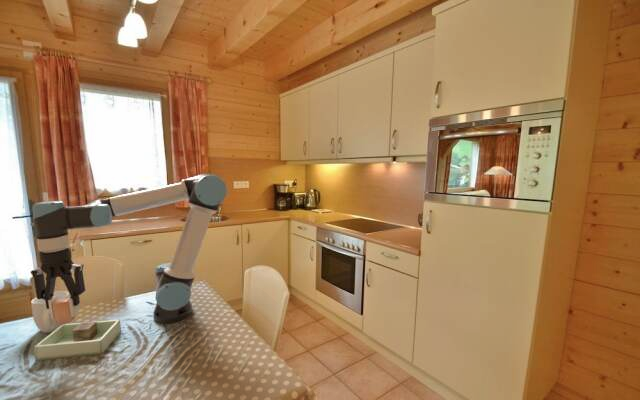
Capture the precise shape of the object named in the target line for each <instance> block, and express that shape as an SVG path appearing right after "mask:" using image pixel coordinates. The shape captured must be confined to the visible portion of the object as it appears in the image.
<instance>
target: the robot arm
mask: <svg viewBox="0 0 640 400" xmlns="http://www.w3.org/2000/svg"><path fill="white" fill-rule="evenodd" d="M227 194H228V187H227V184H226V183H225V181H224V180H223V179H222V177H220V176H218V175H216V174H212V173H202V174H198V175H195V176H193V177H189V178H185V179H182V180H181V181H180V182H177V183H173V184H172V183H171V184H169V185H164V186H163V185H162V186H159V187H154V188H149V189H146V190H145V189H144V190H141V191H135V192H131V193H126V194H125V193H124V194H121V195H115V196H112V197H108V198H107V197H105V198H102V199H94V200H91V201H88V203H87V204H84V205H75V206H74V205H73V206H66V205H65V203H64V201H62V200H52V201H51V200H50V201H49V200H48V201H42V202H36V203H34V204H33V205H32V207H31V208H32V220H33V225H34V231H35V234H36V243H37V244H36V245H37V251H38V252H39V253H38V257H39V261H40V263H41V265H40V267H36V268H35V269H33V270H30V274H31V276H32V277H33V281H34V289H35V295H36V297H37V299H44V300H45V302H46V308H47V309H49V310H50V316H51V319H54V318H55V317H54V311H53V305H52V303H53V302H55V301H57V297H53V296H54V295H55V294H54V292H55V289H56V288H55V287H56V281H57V278H61V279H60V280H62V282H63V283H64V285H65V287H66V289H67V292H68V293H69V298H68V299H69V306H70V312H71V317H73V316H75V317H76V315H77V314H79V306H78V305H80V304H81V303H80V302H81V301H80V296H81V295H83V293H85V292H86V286H85V280H84V278H85V277H84V274H83V273H84V272H83V269H84V264H83V263H81V264H77V263H74V261H73V259H72V250H71V247H70V246H71V244H70V237H69V230H76V229H85V228H86V229H88V228H100V227H105V226H110V225H111V224H112V222H113V218H114V217H119V216H124V215H127V214H132V213H135V212H139V211H144V210H148V209H152V208H156V207H157V208H158V207H160V206H161V207H162V206H165V205H169V204H173V203H178V202H182V201H186V202H187V203H188V205H189V208H190V209H189V211H188V214H187V217H186V219H185V223H184V224H183V229H182V231H181V233H180V236H179V239H178V242H177V245H176V247H175V250H174V253H173V255H172V259H171V261H170V262H168V263H167V262H166V263H165V262H164V263H161V264H159V265H157V266H156V267H155V272H154V274H155V301H156V303H155V307H154V310H153V315H152V316H153V321H154V322H155V323H158V324H172V323H177V322H180V321H183V320H184V319H187V318H188V317H189V316H190V315H191V314H192V312H193V305H192V303H191V300H190V299H191V296H192V289H191V288H192V286H193V283H194V280H195V277H196V274H195V271H194V268H195V265H196V263H197V259H198V257H199V254H200V251H201V248H202V245H203V243H204V241H205V237H206V234H207V231H208V228H209V225H210V222H211V220H212V217H213V215H214V214H215V213H217V212H219V209H220V208H221V207H220V206H221V204H222V202H224V200H225V198H226V197H227ZM71 270H72V271H71ZM72 272H73V273H72ZM44 275H46V276H44ZM73 276H74V278H73ZM45 281H46V282H45ZM52 297H53V298H52Z"/></svg>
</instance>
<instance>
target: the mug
mask: <svg viewBox="0 0 640 400" xmlns="http://www.w3.org/2000/svg"><path fill="white" fill-rule="evenodd" d="M54 294H55V295H54V296H53V297H57V300H59V299H63V298H70V293H69V291H66V290H65V291H64V290H59V291H54ZM53 297H52V298H53ZM30 306H31V313H32V318H33V321H34V324H35V325H36V327H37V328H38V330H40V331H41V332H42V333H52V332H53V331H55V330H56V329H57V328H58V327H60V326H61V325H56V324H55V318H54V319H51V316H50V310H49V309H47V308H46V302H45V300H44V299H37V296H36V297H35V298H33V299H32V300H30Z"/></svg>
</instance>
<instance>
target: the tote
mask: <svg viewBox="0 0 640 400" xmlns="http://www.w3.org/2000/svg"><path fill="white" fill-rule="evenodd" d="M87 322H88V321H86V322H84V323H87ZM95 322H96V324H97V335H96V336H95V337H94V338H93V339H92V340H89V341H79V342H74V340H73V330H74V329H75V328H76V327H77V326H78V325H80V324H81V323H82V322H77V323H76V322H75V323H66V324H63V325H61V326H60V327H58V328H57V329H56V330H55V331H53V332H50V334H48V335H47V336H46V337H44V338H43V339H42V340H40V342H38V343H37V344H35V345H34V346H33V351H34V361H35V362H39V361H48V360H57V359H66V358H76V357H77V358H78V357H85V356H87V357H88V356H96V355H102V354H103V353H104V352H106V349H107V348H109V346H110V345H111V344H112V343H113V341H115V339H116V338H117V337H118V336H119V335H120V333H121V332H122V326H121V325H122V324H121V319H109V320H99V321H97V320H96V321H95Z"/></svg>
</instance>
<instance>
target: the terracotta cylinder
mask: <svg viewBox="0 0 640 400" xmlns="http://www.w3.org/2000/svg"><path fill="white" fill-rule="evenodd" d="M52 305H53V311H54V317H55V324H56V325H63V324H70V323H71V322H73V321H75V319H76V315H75V316H73V317H71V312H70V306H69V299H68V298H63V299H59V300H57V301H55V302H53V303H52Z"/></svg>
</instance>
